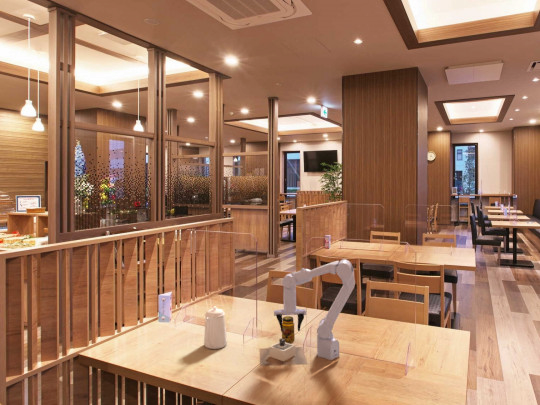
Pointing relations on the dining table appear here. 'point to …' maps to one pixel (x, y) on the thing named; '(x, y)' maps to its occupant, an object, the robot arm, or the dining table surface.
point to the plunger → (282, 344)
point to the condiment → (288, 329)
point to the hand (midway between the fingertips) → (290, 330)
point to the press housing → (282, 352)
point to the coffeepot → (215, 329)
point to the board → (267, 360)
